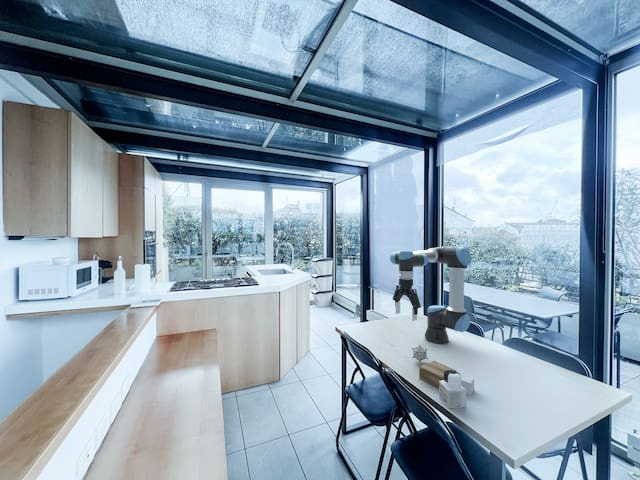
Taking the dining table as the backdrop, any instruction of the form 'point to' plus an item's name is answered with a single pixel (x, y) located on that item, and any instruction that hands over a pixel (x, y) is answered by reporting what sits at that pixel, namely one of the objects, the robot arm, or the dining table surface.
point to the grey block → (467, 384)
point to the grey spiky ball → (419, 353)
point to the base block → (433, 373)
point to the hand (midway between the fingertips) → (405, 316)
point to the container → (452, 390)
